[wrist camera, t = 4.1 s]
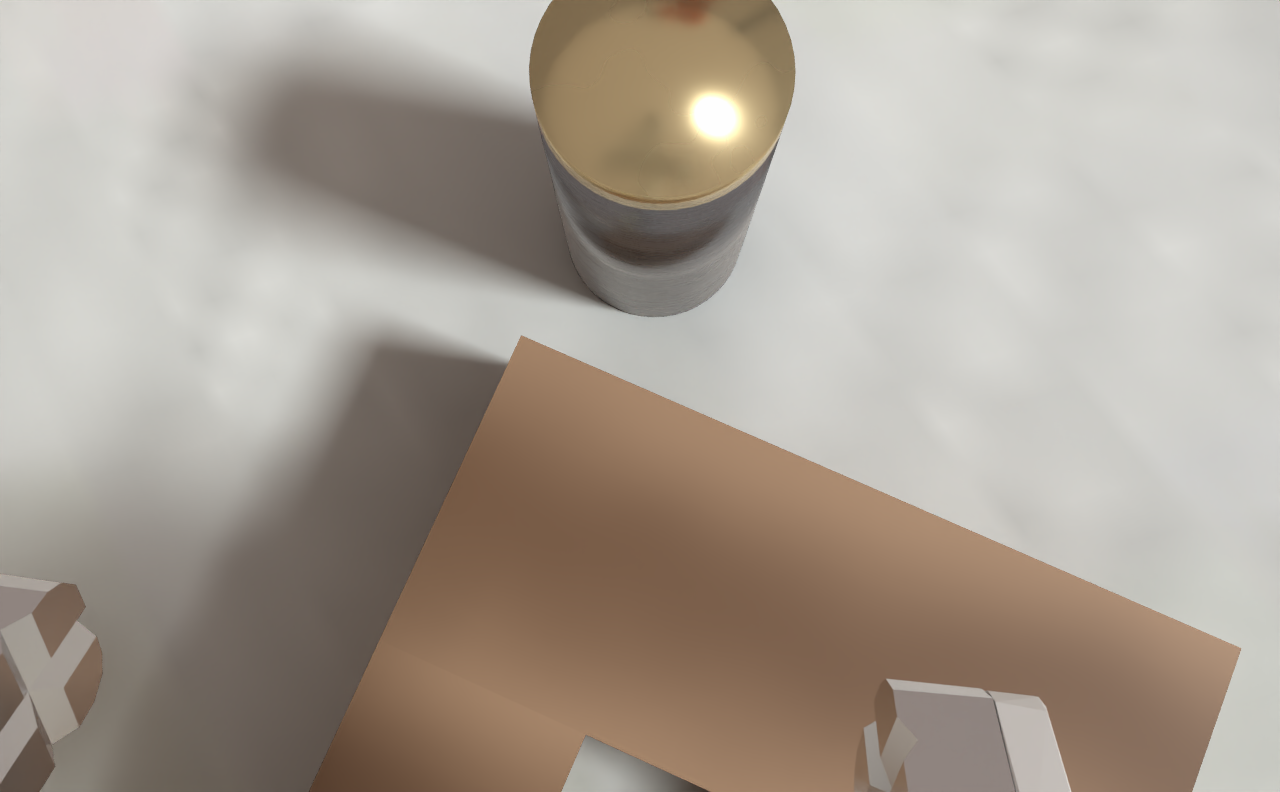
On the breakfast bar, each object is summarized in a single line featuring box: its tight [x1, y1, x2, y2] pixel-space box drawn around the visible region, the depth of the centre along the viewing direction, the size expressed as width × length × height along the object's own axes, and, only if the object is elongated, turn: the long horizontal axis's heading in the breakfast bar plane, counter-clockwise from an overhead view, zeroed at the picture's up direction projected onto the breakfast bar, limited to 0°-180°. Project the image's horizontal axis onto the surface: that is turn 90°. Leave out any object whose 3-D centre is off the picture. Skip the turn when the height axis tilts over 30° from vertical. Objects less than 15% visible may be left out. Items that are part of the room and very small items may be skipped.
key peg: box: [529, 0, 795, 317], centre depth 19 cm, size 4×4×8 cm
